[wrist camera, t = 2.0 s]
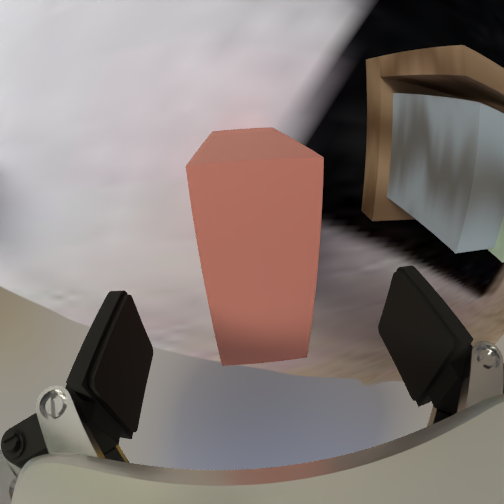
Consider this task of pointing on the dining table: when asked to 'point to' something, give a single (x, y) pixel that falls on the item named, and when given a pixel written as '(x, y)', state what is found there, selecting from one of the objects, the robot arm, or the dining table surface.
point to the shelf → (421, 81)
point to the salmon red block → (258, 240)
